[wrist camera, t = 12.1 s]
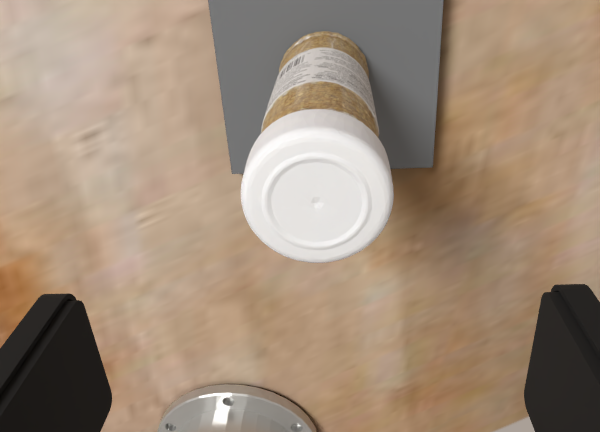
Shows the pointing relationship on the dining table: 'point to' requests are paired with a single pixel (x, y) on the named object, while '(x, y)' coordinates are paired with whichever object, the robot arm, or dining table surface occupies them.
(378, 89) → the mat
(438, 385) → the dining table surface
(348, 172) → the spice jar
